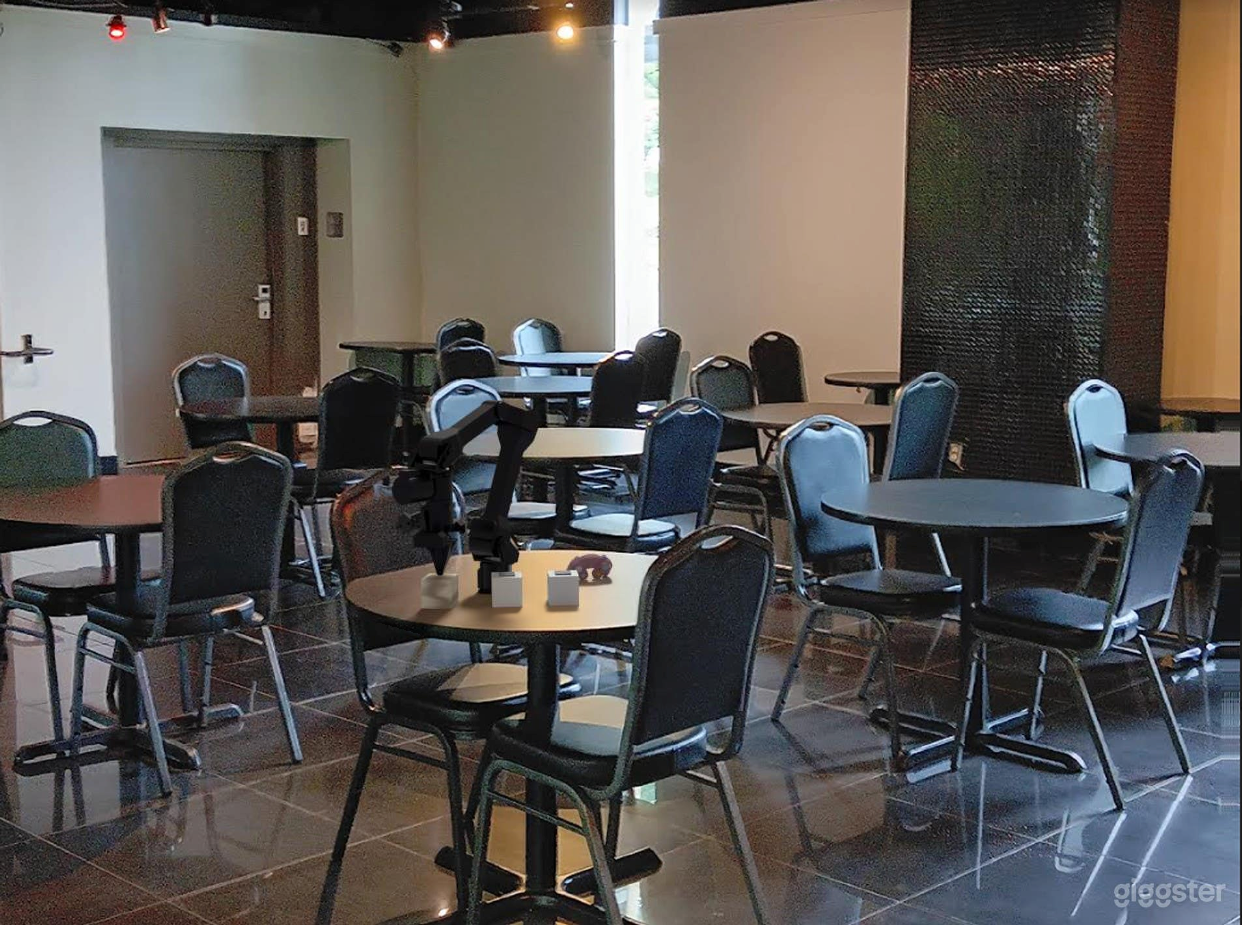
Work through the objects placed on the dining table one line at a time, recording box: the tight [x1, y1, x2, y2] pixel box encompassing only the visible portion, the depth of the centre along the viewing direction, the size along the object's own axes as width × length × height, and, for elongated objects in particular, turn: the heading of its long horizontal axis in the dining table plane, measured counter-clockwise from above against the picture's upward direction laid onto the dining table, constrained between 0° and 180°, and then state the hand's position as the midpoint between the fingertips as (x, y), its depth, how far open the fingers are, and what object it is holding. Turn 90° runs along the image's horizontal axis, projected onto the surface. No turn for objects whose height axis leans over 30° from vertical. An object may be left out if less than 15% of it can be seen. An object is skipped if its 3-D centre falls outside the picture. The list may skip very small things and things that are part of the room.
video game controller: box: [566, 553, 613, 581], centre depth 335 cm, size 10×5×7 cm, turn 107°
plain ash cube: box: [420, 572, 459, 610], centre depth 309 cm, size 6×6×6 cm
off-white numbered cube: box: [491, 571, 524, 608], centre depth 311 cm, size 6×6×6 cm
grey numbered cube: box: [546, 569, 580, 607], centre depth 312 cm, size 6×6×6 cm
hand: (440, 575), depth 309 cm, fingers closed
